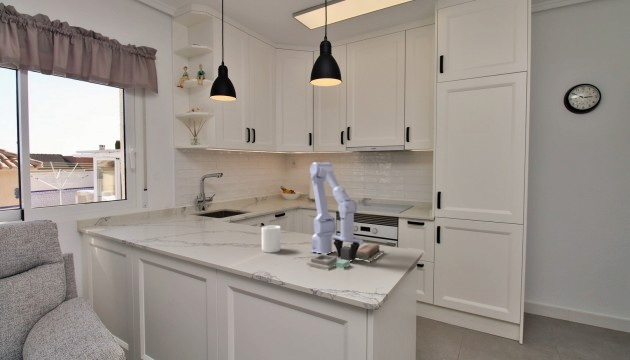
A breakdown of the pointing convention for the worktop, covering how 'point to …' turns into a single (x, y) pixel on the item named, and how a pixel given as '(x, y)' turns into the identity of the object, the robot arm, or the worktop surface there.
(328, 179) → the robot arm
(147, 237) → the worktop surface
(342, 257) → the block
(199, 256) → the worktop surface
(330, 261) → the plate
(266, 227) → the mug
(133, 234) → the worktop surface
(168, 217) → the worktop surface
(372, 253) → the packaged product
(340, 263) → the cable plug
